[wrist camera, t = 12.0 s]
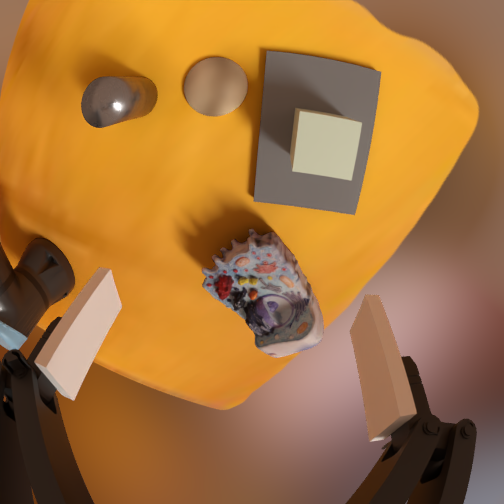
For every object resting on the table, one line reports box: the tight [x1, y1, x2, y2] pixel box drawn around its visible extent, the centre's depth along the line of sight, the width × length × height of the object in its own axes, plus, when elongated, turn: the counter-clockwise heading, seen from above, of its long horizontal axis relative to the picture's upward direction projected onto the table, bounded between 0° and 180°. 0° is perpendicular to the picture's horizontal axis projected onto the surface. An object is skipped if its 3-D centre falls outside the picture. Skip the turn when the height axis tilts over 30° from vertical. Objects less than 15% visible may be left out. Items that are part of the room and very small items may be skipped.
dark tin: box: [81, 76, 158, 128], centre depth 26 cm, size 6×6×9 cm
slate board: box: [254, 51, 381, 215], centre depth 31 cm, size 14×20×1 cm
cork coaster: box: [184, 57, 248, 116], centre depth 29 cm, size 8×8×1 cm
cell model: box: [202, 229, 324, 358], centre depth 40 cm, size 13×11×20 cm
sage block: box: [290, 108, 362, 180], centre depth 27 cm, size 6×6×8 cm
